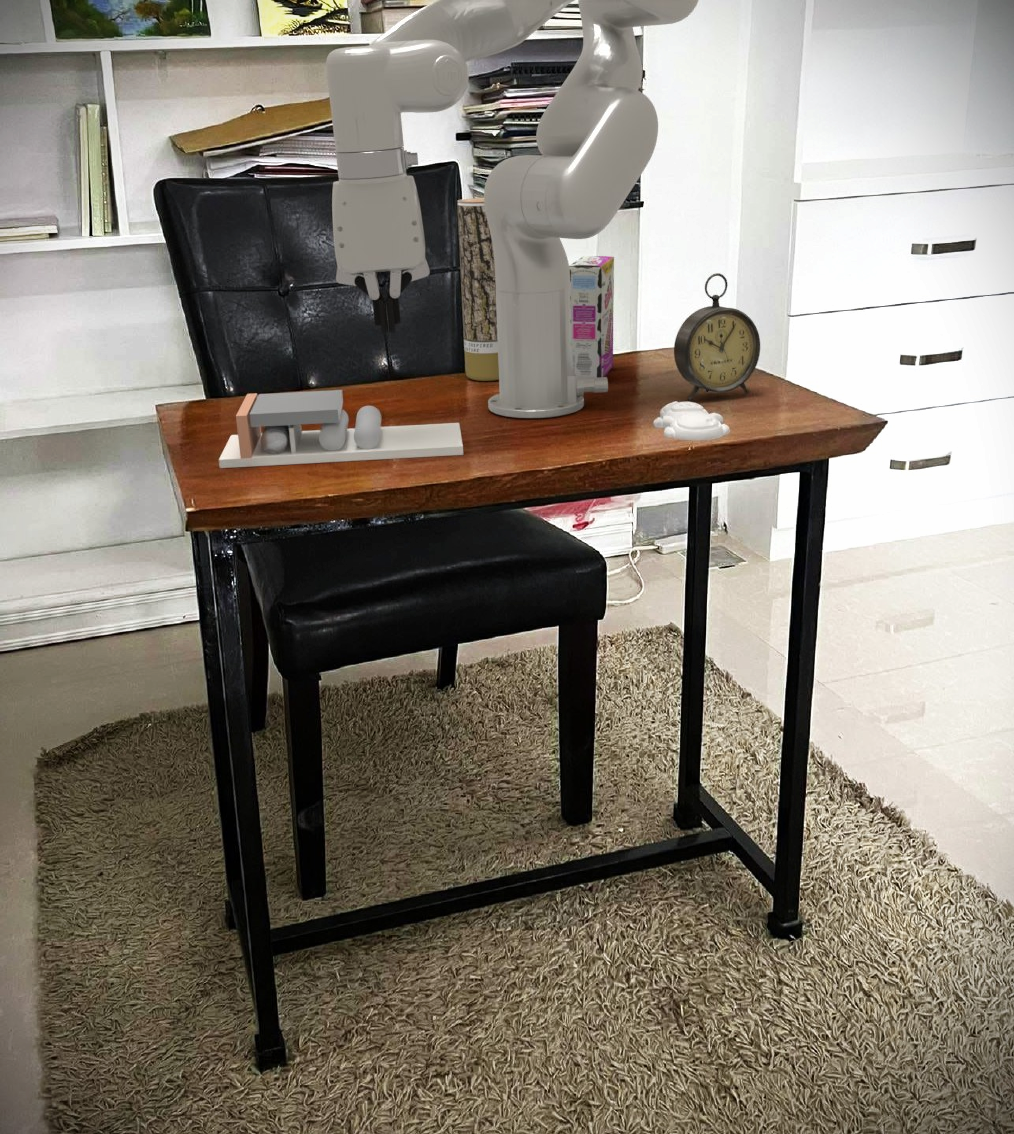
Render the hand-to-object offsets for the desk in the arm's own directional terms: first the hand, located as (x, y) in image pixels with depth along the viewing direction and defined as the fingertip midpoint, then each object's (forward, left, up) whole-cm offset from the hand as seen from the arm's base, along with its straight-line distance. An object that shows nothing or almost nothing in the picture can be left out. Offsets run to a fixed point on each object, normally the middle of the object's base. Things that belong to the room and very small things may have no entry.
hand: (388, 331), depth 146 cm
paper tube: (-13, -34, -14) cm, 39 cm away
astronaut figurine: (-36, -1, -14) cm, 39 cm away
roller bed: (+6, +1, -14) cm, 15 cm away
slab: (+11, +1, -9) cm, 15 cm away
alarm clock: (-42, -15, -14) cm, 47 cm away
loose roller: (+14, +1, -13) cm, 19 cm away
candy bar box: (-28, -32, -14) cm, 45 cm away
